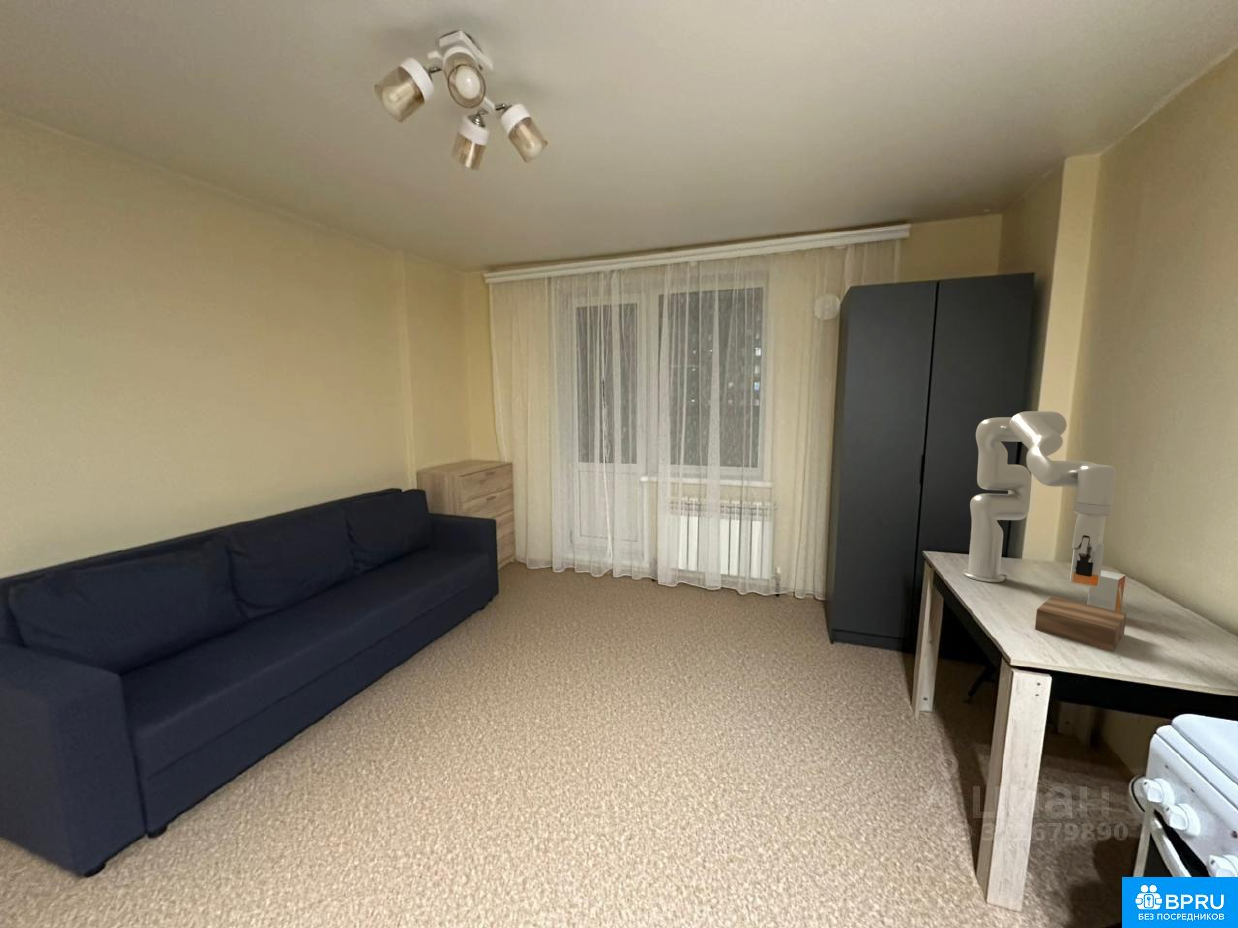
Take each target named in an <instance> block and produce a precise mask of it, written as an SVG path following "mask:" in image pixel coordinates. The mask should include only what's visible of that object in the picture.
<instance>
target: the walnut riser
mask: <svg viewBox="0 0 1238 928" xmlns="http://www.w3.org/2000/svg"><path fill="white" fill-rule="evenodd" d="M1126 620H1127V613H1126V612H1125V613H1124V612H1122V611H1121V612H1117V611H1113V610H1108V609H1104V608H1100V607H1096V606H1091V605H1087V603H1082V602H1078V601H1074V600H1069V599H1065V598H1062V597H1061V598H1060V597H1058V596H1052V595H1051V596H1050V597H1049V598H1048V599H1047V600H1045V602H1043V603H1042V604H1040V606H1039V607H1038V608H1037V609H1036V615H1035V625H1034V630H1036V631H1040V632H1043V633H1046V634H1050V635H1054V636H1058V637H1060V638H1063V639H1067V640H1068V639H1069V640H1072V641H1074V642H1075V641H1076V642H1078V643H1082V644H1086V645H1089V646H1093V647H1097V648H1100V649H1103V650H1107V651H1110V652H1114V651H1115V650H1116V648H1117V646H1118V644H1119V643H1120V641H1121V640H1122V638H1123V636H1124V634H1125V628H1126Z"/></svg>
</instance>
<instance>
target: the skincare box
mask: <svg viewBox="0 0 1238 928" xmlns="http://www.w3.org/2000/svg"><path fill="white" fill-rule="evenodd" d="M1079 548H1080V545H1079V547H1078V548H1076V549H1073V553H1072V559H1071V560H1072V561H1071V568H1070V576H1069V577H1070V579H1069V584H1073V585H1078V586H1084V587H1088V588H1089V587H1094V588H1099V584H1100V576H1101V570H1103V569H1102V568H1103V567H1102V566H1103V561H1104V559H1103V558H1104V552H1105V544H1104V543H1103V542H1102V543H1101V545H1099V547H1098V550H1097V551H1096V552H1093V558H1092V562H1093V570H1092V576H1091V577H1088V576H1083V575H1078V574H1076V565H1077V560H1078V554H1079ZM1091 548H1092V547H1091ZM1088 551H1091V549H1088ZM1087 554H1089V555H1090V553H1087Z"/></svg>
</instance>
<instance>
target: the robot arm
mask: <svg viewBox="0 0 1238 928" xmlns="http://www.w3.org/2000/svg"><path fill="white" fill-rule="evenodd" d="M1067 424H1068V423H1067V420H1066V418H1065V417H1064V415H1063V414H1062V413H1060V412H1057V411H1049V410H1048V411H1047V410H1046V411H1042V410H1041V411H1039V410H1038V411H1037V410H1035V411H1034V410H1033V411H1031V410H1029V411H1021V412H1019V413H1016V414H1014V415H1013V416H1012V417H1011V416H1010V417H1007V416H1006V417H1005V416H1004V417H1001V416H1000V417H991V418H987V419H983V420H982V421H980V422H979V424H978V426H977V428H976V431H975V440H976V444H977V450H978V455H977V456H978V458H977V473H976V474H977V475H976V481H977V485H978V487H979V488H980V489H983V490H986V491H1007V492H1008V493H979V494H976V495H974V496H973V497H972V498H971V500H970V501H969V502H970V503H969V507H970V509H969V510H970V517H971V529H970V530H971V531H970V541H969V543H970V544H969V554H968V555H969V556H968V566H967V567H968V568H964V569H963V570H962V574H963V576H965V577H967V578H970V579H972V580H977V581H981V582H987V583H1002V582H1004V581H1005V578H1006V577H1005V576H1004V575H1003V574H1001V563H1002V552H1003V541H1004V531H1003V528H1002V527H1001V526H1000V524H999V522H998V521H1001V520H1002V521H1021V520H1024V519H1025V518H1026V517H1027V516H1028V514H1029V512H1030V503H1031V491H1032V475H1033V477H1034V478H1035V479H1036V480H1037V481H1038V482H1039V483H1041V484H1042V485H1044V486H1047V487H1054V488H1055V487H1064V488H1065V487H1067V488H1068V487H1071V488H1075V498H1074V507H1073V513H1074V514H1075V515H1077V516H1076V521H1075V524H1074V531H1073V537H1072V544H1071V548H1072V549H1073V550H1074V549H1076V548H1078V547H1079V545H1080V548H1079V554H1078V560H1077V565H1076V574H1078V575H1083V576H1088V577H1091V576H1092V570H1093V562H1092V558H1093V552H1096V551H1097V550H1098V547H1099V545H1101V543H1103V542H1104V534H1105V526H1106V518H1111V517H1112V516H1113V508H1114V507H1113V506H1114V498H1115V492H1116V491H1115V489H1116V480H1117V469H1116V467H1115V466H1112V465H1107V464H1098V463H1095V462H1091V461H1087V460H1085V461H1084V460H1082V461H1081V460H1080V461H1079V460H1052V459H1050V458H1049V457H1048V456H1051V455H1053V454H1055V453H1056V452H1058V451H1059V450H1060V449H1061V447H1062V446H1063V443H1064V439H1063V437H1062V435H1063V434H1064V433H1065V432H1066V429H1067ZM1003 442H1010V443H1011V442H1016V443H1017V442H1019V443H1020V442H1021V443H1022V444H1023V445H1024V447H1026V448H1027V450H1028V451H1027V453H1026V461H1025V462H1026V466H1027V467H1026V466H1023V465H1020V464H1009V463H1008V455H1009V454H1008V450H1007V448H1006V447H1005V445H1004V444H1003ZM1091 547H1092V548H1091ZM1088 549H1091V551H1088ZM1087 553H1090V555H1089V554H1087Z"/></svg>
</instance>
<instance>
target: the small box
mask: <svg viewBox="0 0 1238 928" xmlns="http://www.w3.org/2000/svg"><path fill="white" fill-rule="evenodd" d="M1126 576H1127V575H1126V574H1123V573H1118V572H1113V571H1109V570H1103V569H1101V576H1100V584H1099V588H1094V587H1089V586H1088V595H1087V602H1086V604H1087V605H1091V606H1096V607H1100V608H1104V609H1108V610H1113V611H1117V612H1121V613H1122V607H1123V599H1124V591H1125V583H1126Z"/></svg>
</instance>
